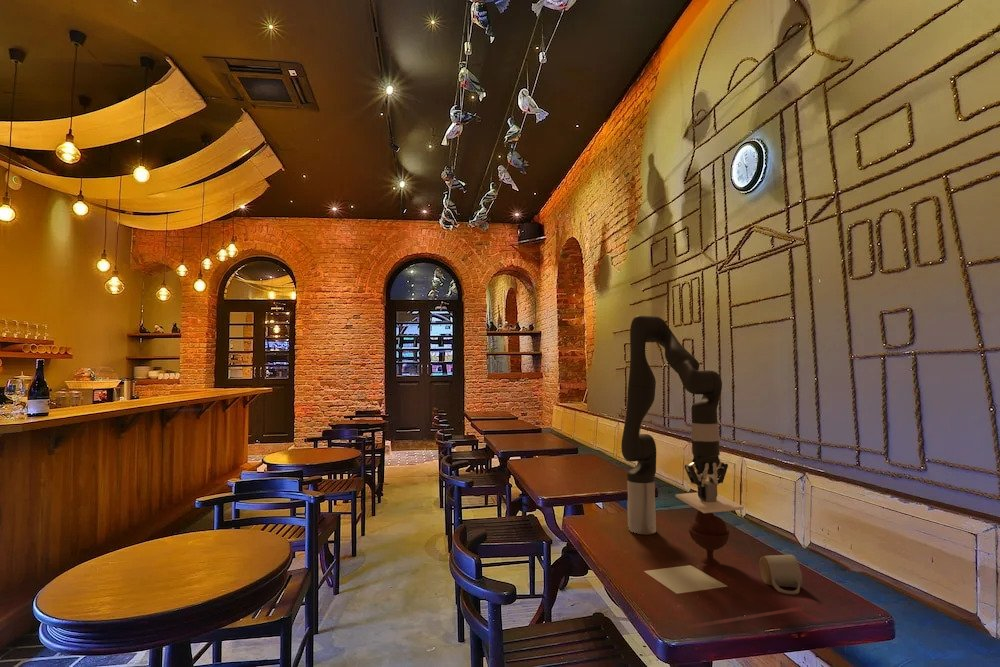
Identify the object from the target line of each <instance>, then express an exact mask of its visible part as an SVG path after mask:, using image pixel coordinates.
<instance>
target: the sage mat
mask: <svg viewBox="0 0 1000 667" xmlns="http://www.w3.org/2000/svg"><path fill="white" fill-rule="evenodd" d="M643 572H644V573H646V574H647V575H648V576H650V577H652V578H653V579H655V580H656V581H657V582H659V583H660V584H662V585H663V586H665V587H666V588H667V589H668V590H670V591H672V592H673V593H675V594H677V595H678V594H685V593H692V592H693V593H694V592H699V591H704V590H705V591H706V590H712V589H713V590H714V589H720V588H725V587H728V585H726V584H725V583H723V582H721V581H720V580H718V579H716V578H714V577H712V576H711V575H709V574H707V573H705V572H703V571H702V570H700V569H698V568H697V567H695V566H693V565H691V564H690V565H688V564H687V565H681V566H674V567H667V568H666V567H665V568H658V569H652V570H651V569H648V570H643Z"/></svg>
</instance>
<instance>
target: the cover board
mask: <svg viewBox="0 0 1000 667" xmlns="http://www.w3.org/2000/svg"><path fill="white" fill-rule="evenodd" d="M704 487H705V490H706V500H702V499H700V498H699V497H698V491H697V492H687V493H686V492H685V493H676V494H675V498H677V499H679V500H680V501H682V502H683V503H685V504H687V505H689V506H691V507H693V508H694V509H696V510H698V511H701V512H703V513H720V512H721V513H722V512H729V511H741V510H742V511H743V510H744V509H745V508H744V507H745V506H743V505H741V504H740V503H737V502H736V501H734V500H731V499H729V498H727V497H725V496H723V495H721V494H719V493H718V485H717V484H715V483H713V482H711V481H709V480H708V481H705V486H704Z"/></svg>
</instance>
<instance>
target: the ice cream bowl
mask: <svg viewBox="0 0 1000 667" xmlns="http://www.w3.org/2000/svg"><path fill="white" fill-rule="evenodd" d="M688 532H689V535H690V537H691V539H692V541H693V542H695V544H697V545H698V546H699V547H700V548H702V549H704V550H705V551H706V557H704V558H702V559H701V560H700V562H701V563H703V564H705V565H707V566H719V565H720V561H718V560H717V559H716V558H714V552H715V551H717V550H720V549H722V548H723V547H724V546H725V545H726V544H727V543H728V541H729V536H730V530H728V528H727V523H725V521H724V520H723V518H721V517H718V516H717V515H715V514H714V512H712V513H703V512H701V511H699V510H698V511H697V512H696V513H695V516H694V522H693V523H692V525H691V526H689V529H688Z"/></svg>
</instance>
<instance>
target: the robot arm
mask: <svg viewBox="0 0 1000 667" xmlns="http://www.w3.org/2000/svg"><path fill="white" fill-rule="evenodd" d="M629 342H630V343H629V346H630V347H629V348H630V349H629V350H630V351H629V352H630V355H629V357H630V359H629V360H630V362H629V373H628V374H629V376H628V384H627V397H626V398H627V401H626V411H625V419H624V425H623V432H622V437H621V438H622V439H621V448H620V449H621V454H622V457H623V459H624V460H625V461H627V462H631V463H632V462H634V463H635V462H637V464H636V465H635V466H634V467H633V468H632V469H629V470H628V471H627V474H626V477H627V478H626V479H627V480H626V482H627V484H626V485H627V501H626V506H627V507H626V508H627V512H626V513H627V528H628V527H629V528H628V531H629V530H630V532H631V533H633V532H634V533H633V534H636V533H637V534H638V535H653V534H655V533H657V523H656V522H657V520H656V519H657V518H656V492H655V491H656V489H655V487H656V486H655V476H656V473H657V472H656V471H657V444H656V441H655V439H654V437H653V436H652V435H651V434H648V433H642V434H641V433H640V430H641V425H642V423H643V420H644V418H645V416H647V414H648V412H649V410H650V409H651V407H652V405H653V404H654V401H655V396H656V387H657V386H656V385H657V384H656V383H657V382H656V381H657V380H656V377H655V374H654V372H653V370H652V368H651V366H650V365H649V362H648V360H647V355H646V343H657V344H659V346H661V347H663V349H664V357H665V360H666V363H667V364H668V365H669V366H670V367H671V369H672V370H674V372H675V373H677V375H678V377H679V379H680V381H681V383H682V385H683V388H684V389H685V390H686V391H687V392H689V393H690V394H692V395H702V397H701V400H700V401H698V402H694V403H692V405H691V409H690V410H691V431H690V432H691V434H690V436H691V454H692V455H693V458H692V460H691V462H690V463H689V464H684V469H685V472H686V474H687V476H688V479H689V480H690V483H691V484H692V485H696V486H697V492H698V497H699V498H700V499H702V500H706V490H705V487H704V486H705V482H706V480H707V479H708V481H711V482H713V483H715V484H717V486H718V485H720V484H722V483H723V484H724V480H725V477H726V473H727V471H728V467H729V464H728V463H725V462H723V461H721V459H720V457H719V456H720V454H721V453H720V452H721V451H720V431H719V426H718V425H719V424H718V407H719V406H718V405H719V402H720V398H721V393H722V391H723V390H722V388H723V382H722V378H721V376H720V374H719V373H718V372H716V371H715V370H700V364H699V361H698V360H697V359H696V357H695V356H693V355H692V353H690V352H689V351H688V350H687V349H686V348H685V347H684V346H683V345H682V343H680V341H679V340H678V339H677V337H676V335H675V334H674V333H673V331H672V330H671V328H670V327H669V325H668V324H667V322H666V321H665V320H664V319H663V318H661V317H660V316H657V315H655V316H654V315H635V316H634V318H632V319H631V323H630V331H629Z"/></svg>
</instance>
